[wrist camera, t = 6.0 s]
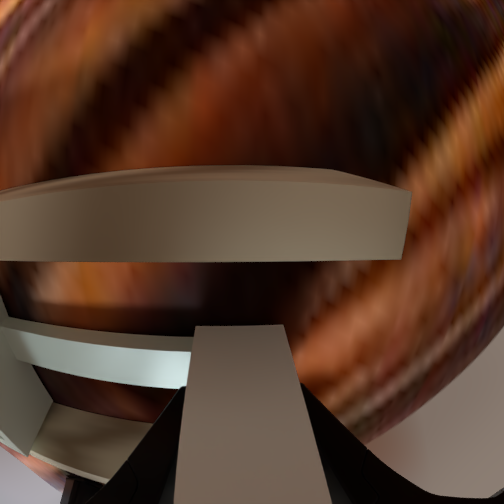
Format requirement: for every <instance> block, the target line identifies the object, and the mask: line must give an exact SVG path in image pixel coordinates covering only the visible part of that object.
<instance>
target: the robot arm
mask: <svg viewBox="0 0 504 504" xmlns="http://www.w3.org/2000/svg"><path fill="white" fill-rule="evenodd" d="M300 386H301V390H302V393H303V397H304V401H305V404H306V408H307V411H308V415H309V419H310V422H311V426H312V430H313V433H314V437H315V441H316V445H317V448H318V452H319V456H320V460H321V463H322V467H323V471H324V475H325V478H326V482H327V486H328V490H329V494H330V498H331V501H332V504H504V488H502V489H501V490H499V491H498V492H496V493H495V494H494V495H492V496H491V497H489V498H482V499H481V498H459V497H448V496H439V495H435V494H431V493H429V492H427V491H425V490H423V489H421V488H419V487H418V486H416V485H415V484H413V483H412V482H410V481H408V480H407V479H405V478H404V477H402V476H401V475H399V474H398V473H396V472H395V471H393V470H392V469H391V468H390V467H388V466H387V465H386V464H384V463H383V462H382V461H381V460H379V458H377V457H376V456H375V455H374V454H373V453H372V452H371V451H370V450H369V449H368V450H367V448H366V446H364V445H363V444H362V443H361V442H360V441H359V440H358V439H357V438H356V437H355V436H354V435H353V434H352V433H351V432H350V431H349V430H348V429H347V428H346V427H345V426H344V425H343V424H342V423H341V422H340V421H339V420H338V419H337V418H336V417H335V416H334V415H333V414H332V413H331V412H330V411H329V410H328V409H327V408H326V407H325V406H324V405H323V404H322V403H321V402H320V401H319V400H318V399H317V398H316V397H315V396H314V395H313V394H312V392H311V391H310V390H309V389H308V388H307V387H306V386H305V385H304V384H303V383H300ZM185 391H186V386H182V387H180V388H179V390H178V391H177V392H176V394H175V395H174V397H173V398H172V399H171V401H170V402H169V403H168V405H167V406H166V408H165V409H164V410H163V412H162V413H161V414H160V416H159V417H158V418H157V420H156V421H155V422H154V424H153V425H152V426H151V428H150V429H149V430H148V432H147V433H146V434H145V436H144V437H143V438H142V440H141V441H140V442H139V444H138V445H137V446H136V448H135V449H134V450H133V452H132V453H131V454H130V456H129V457H128V458H127V459H128V460H126V461H125V462H124V463H123V465H122V466H121V467H120V468H119V470H118V471H117V472H116V473H115V474H114V476H113V477H112V478H111V479H110V480H109V481H108V482H107V483H106V484H105V485H104V486H103V487H102V486H100V485H98V484H96V483H94V482H92V481H91V480H88V479H86V478H66V484H65V487H64V491H63V494H62V499H61V502H60V504H174V492H175V480H176V468H177V458H178V448H179V439H180V431H181V422H182V414H183V406H184V399H185Z"/></svg>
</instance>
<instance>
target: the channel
mask: <svg viewBox="0 0 504 504" xmlns="http://www.w3.org/2000/svg"><path fill="white" fill-rule="evenodd" d="M411 198H412V192H411V191H408V190H405V189H401V188H398V187H395V186H392V185H388V184H385V183H382V182H378V181H375V180H371V179H367V178H364V177H360V176H356V175H352V174H348V173H345V172H340V171H336V170H332V169H320V168H305V167H287V166H257V165H207V166H178V167H160V168H145V169H133V170H122V171H113V172H104V173H96V174H88V175H80V176H74V177H67V178H61V179H55V180H49V181H44V182H38V183H33V184H28V185H23V186H19V187H14V188H10V189H5V190H1V191H0V261H54V262H278V261H346V260H394V259H401V257H402V252H403V247H404V242H405V237H406V231H407V225H408V219H409V213H410V206H411ZM152 425H153V424H151V423H144V422H137V421H130V420H124V419H119V418H113V417H108V416H103V415H99V414H94V413H90V412H86V411H82V410H78V409H74V408H71V407H67V406H64V405H60V404H57V403H54V402H52V404H51V406H50V408H49V410H48V412H47V415H46V417H45V419H44V421H43V423H42V425H41V427H40V429H39V432H38V434H37V436H36V438H35V441H34V443H33V445H32V448H31V450H30V453H29V454H30V455H32V456H34V457H36V458H38V459H40V460H42V461H44V462H46V463H49V464H51V465H53V466H56V467H58V468H61V469H63V470H66V471H68V472H71V473H74V474H76V475H79V476H82V477H85V478H88V479H91V480H94V481H98V482H101V483H105V484H106V483H107V482H108V481H109V480H110V479H111V478H112V477H113V476H114V474H115V473H116V472H117V471H118V470H119V468H120V467H121V466H122V465H123V463H124V462H125V461H126V460H128V459H127V458H128V457H129V456H130V454H131V453H132V452H133V450H134V449H135V448H136V446H137V445H138V444H139V442H140V441H141V440H142V438H143V437H144V436H145V434H146V433H147V432H148V430H149V429H150V428H151V426H152Z"/></svg>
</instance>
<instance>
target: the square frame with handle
mask: <svg viewBox="0 0 504 504" xmlns="http://www.w3.org/2000/svg"><path fill="white" fill-rule="evenodd" d="M31 364H33V365H37V366H40V367H44V368H48V369H51V370H55V371H59V372H64V373H68V374H72V375H77V376H82V377H87V378H92V379H98V380H103V381H110V382H116V383H123V384H131V385H139V386H148V387H159V388H172V389H179V388H180V387H182V386H186V391H185V399H184V406H183V414H182V422H181V431H180V439H179V448H178V458H177V468H176V480H175V492H174V504H332V501H331V498H330V494H329V490H328V486H327V482H326V478H325V475H324V471H323V467H322V463H321V460H320V456H319V452H318V448H317V445H316V441H315V437H314V433H313V430H312V426H311V422H310V419H309V415H308V411H307V408H306V404H305V401H304V397H303V393H302V390H301V386H300V382H299V379H298V375H297V372H296V368H295V364H294V361H293V357H292V354H291V350H290V347H289V343H288V340H287V336H286V333H285V329H284V326H283V325H257V326H196V327H195V333H194V337H174V336H153V335H137V334H124V333H113V332H103V331H94V330H85V329H77V328H70V327H63V326H56V325H50V324H44V323H38V322H32V321H27V320H22V319H17V318H12V317H9V316H8V314H7V311H6V308H5V306H4V303H3V300H2V298H1V295H0V442H1V443H3V444H5V445H6V446H8V447H10V448H11V449H13V450H15V451H17V452H19V453H20V454H22V455H24V456H26V457H28V455H29V453H30V450H31V448H32V445H33V443H34V441H35V438H36V436H37V434H38V432H39V429H40V427H41V425H42V423H43V421H44V419H45V417H46V415H47V412H48V410H49V408H50V406H51V404H52V402H53V400H52V398H51V397H50V395H49V394H48V392H47V390H46V389H45V387H44V386H43V384H42V382H41V381H40V379H39V377H38V376H37V374H36V372H35V370H34V368H33V367H32V365H31Z"/></svg>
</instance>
